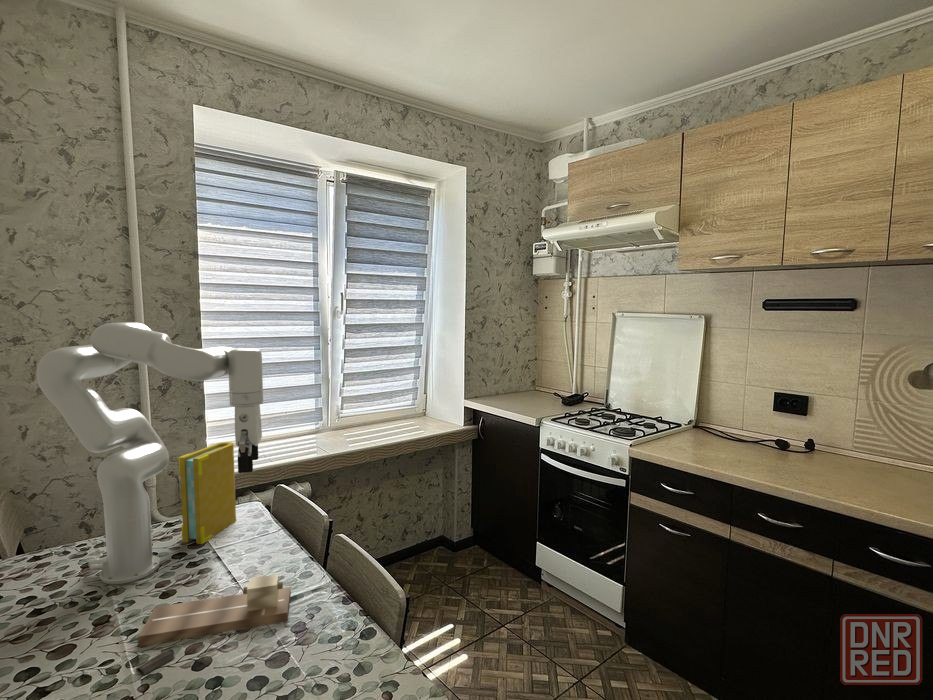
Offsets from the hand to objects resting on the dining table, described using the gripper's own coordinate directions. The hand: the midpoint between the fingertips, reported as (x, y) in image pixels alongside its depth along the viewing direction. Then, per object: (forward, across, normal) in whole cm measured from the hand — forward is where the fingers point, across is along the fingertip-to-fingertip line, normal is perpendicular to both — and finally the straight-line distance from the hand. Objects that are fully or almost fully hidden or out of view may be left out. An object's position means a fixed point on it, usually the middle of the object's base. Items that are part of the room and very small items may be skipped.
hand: (248, 465), depth 119 cm
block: (+29, -28, +13) cm, 42 cm away
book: (+28, +30, +15) cm, 44 cm away
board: (+28, -17, +4) cm, 33 cm away
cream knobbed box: (+26, -17, -5) cm, 32 cm away
